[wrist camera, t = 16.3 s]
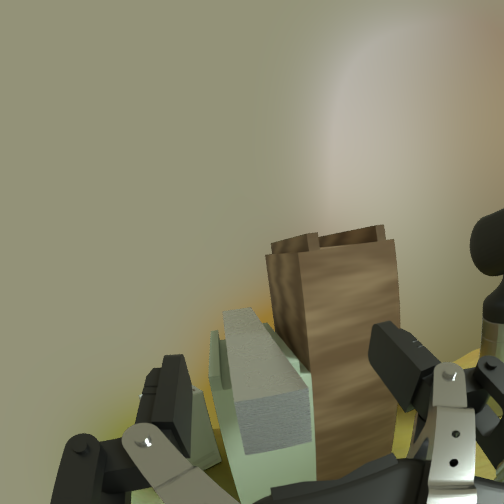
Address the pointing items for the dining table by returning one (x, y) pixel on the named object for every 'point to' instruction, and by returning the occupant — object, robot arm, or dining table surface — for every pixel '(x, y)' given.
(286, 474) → the light grey box
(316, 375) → the tall wooden box
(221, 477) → the dining table surface
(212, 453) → the skincare box
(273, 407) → the bar
